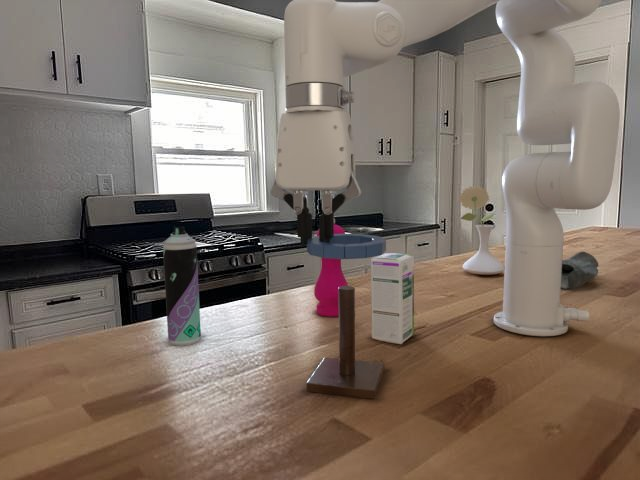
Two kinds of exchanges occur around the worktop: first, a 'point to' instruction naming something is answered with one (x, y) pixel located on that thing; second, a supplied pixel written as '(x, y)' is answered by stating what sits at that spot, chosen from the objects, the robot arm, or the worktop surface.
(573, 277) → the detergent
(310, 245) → the ring
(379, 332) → the syrup box
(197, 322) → the spray can
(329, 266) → the pepper mill
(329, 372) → the stand
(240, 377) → the worktop surface
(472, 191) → the flower in vase
